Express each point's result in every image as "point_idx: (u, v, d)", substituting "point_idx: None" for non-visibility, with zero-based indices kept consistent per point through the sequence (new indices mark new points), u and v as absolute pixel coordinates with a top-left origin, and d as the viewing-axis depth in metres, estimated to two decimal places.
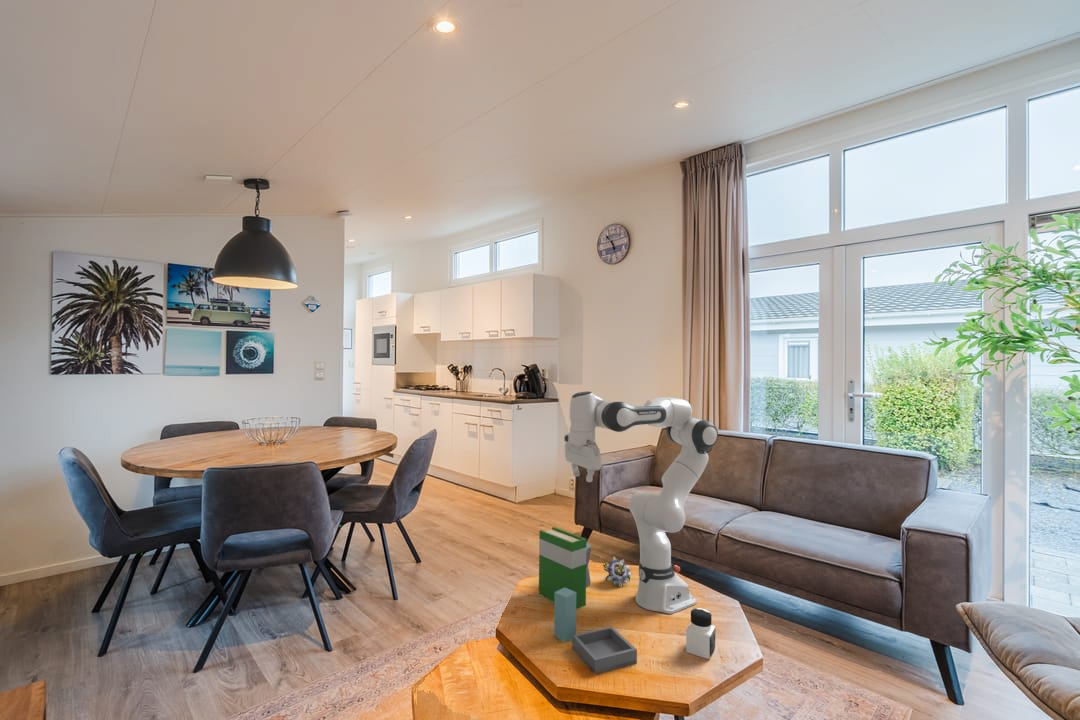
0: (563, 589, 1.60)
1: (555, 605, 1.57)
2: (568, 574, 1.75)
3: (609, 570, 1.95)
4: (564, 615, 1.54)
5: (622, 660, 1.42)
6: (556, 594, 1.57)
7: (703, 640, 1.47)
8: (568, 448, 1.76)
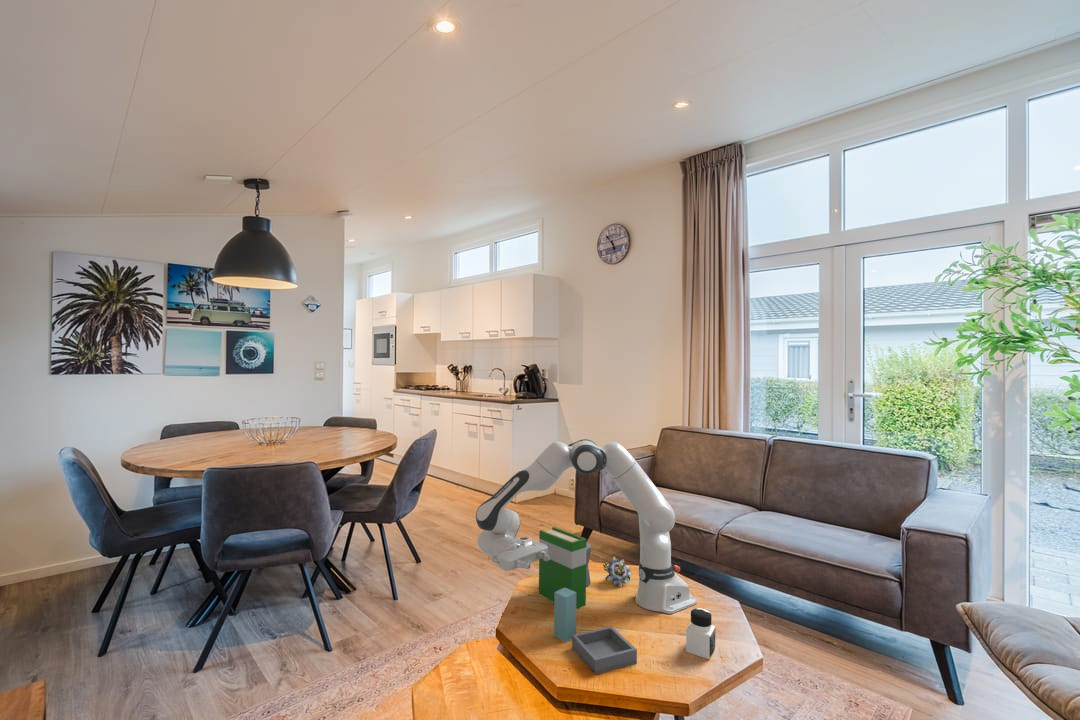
0: (563, 589, 1.60)
1: (555, 605, 1.57)
2: (568, 574, 1.75)
3: (609, 570, 1.95)
4: (564, 615, 1.54)
5: (622, 660, 1.42)
6: (556, 594, 1.57)
7: (703, 640, 1.47)
8: None
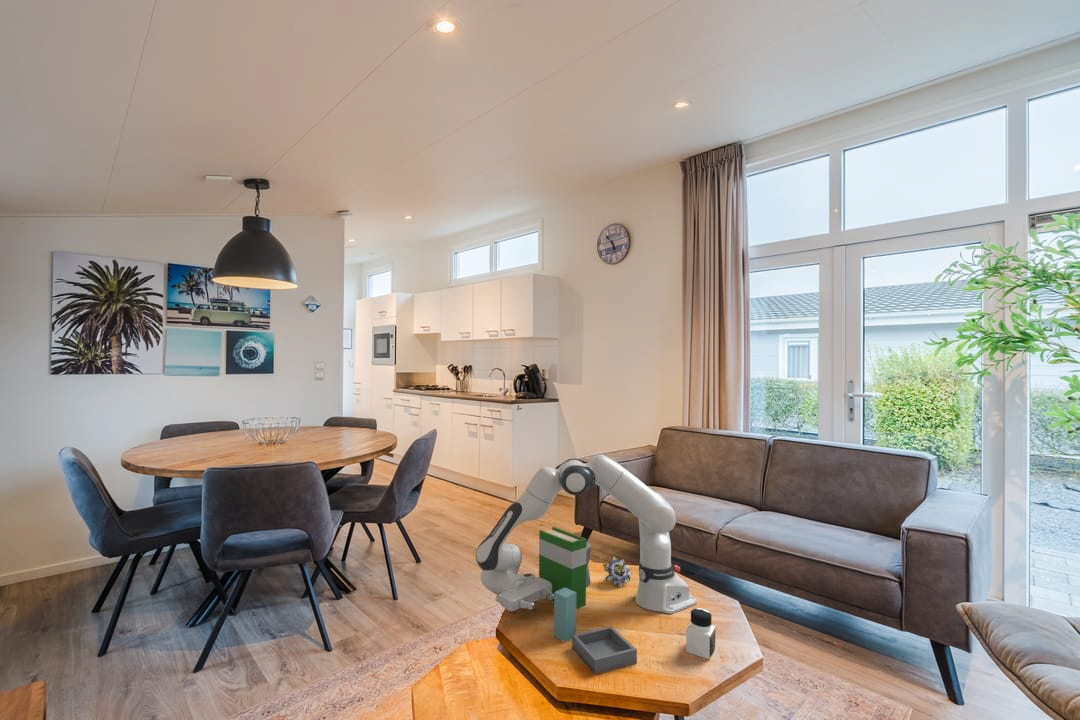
0: (563, 589, 1.60)
1: (555, 605, 1.57)
2: (568, 574, 1.75)
3: (609, 570, 1.95)
4: (564, 615, 1.54)
5: (622, 660, 1.42)
6: (556, 594, 1.57)
7: (703, 640, 1.47)
8: None
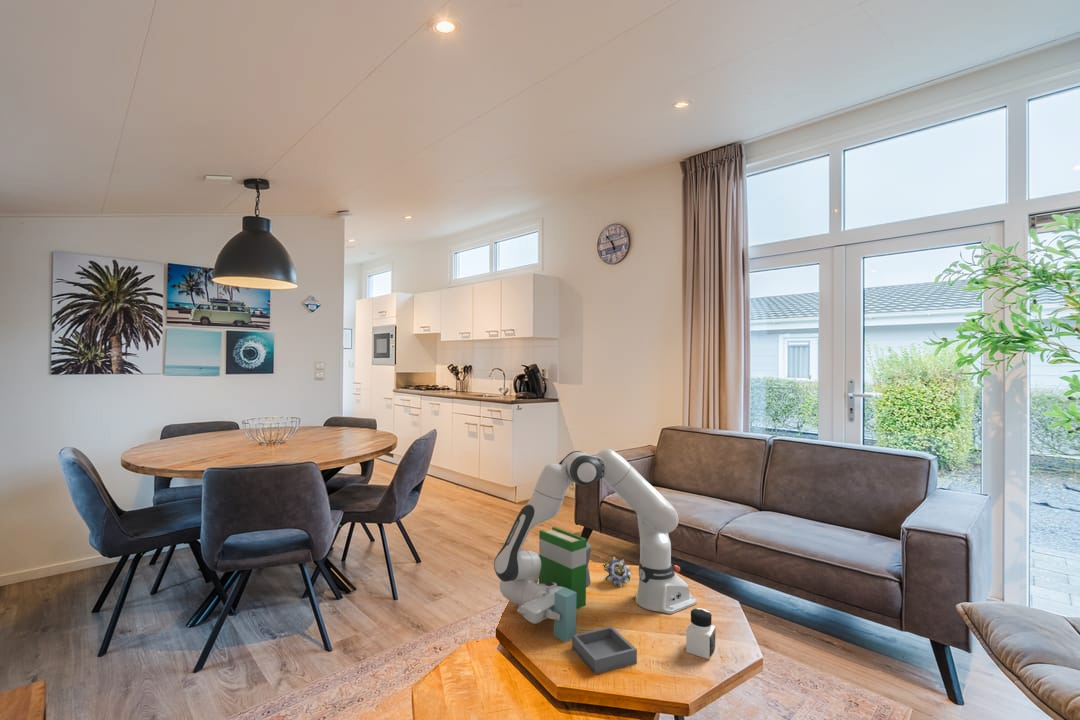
0: (563, 589, 1.60)
1: (555, 605, 1.57)
2: (568, 574, 1.75)
3: (609, 570, 1.95)
4: (564, 615, 1.54)
5: (622, 660, 1.42)
6: (556, 594, 1.57)
7: (703, 640, 1.47)
8: None
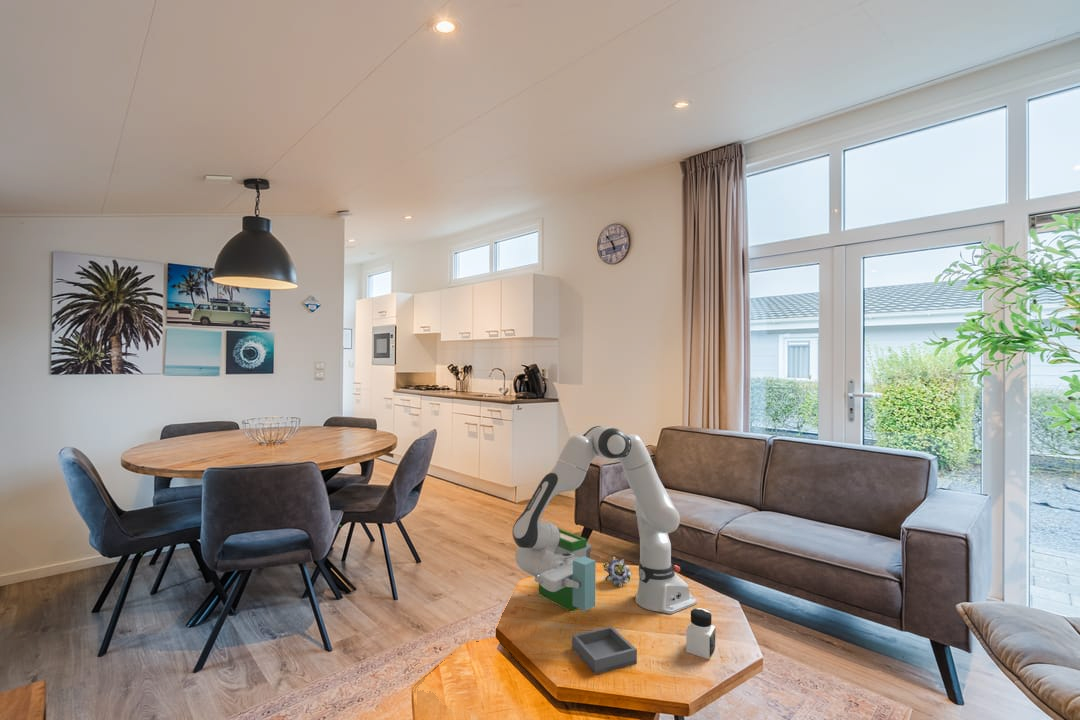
0: (581, 557, 1.55)
1: (573, 574, 1.53)
2: None
3: (609, 570, 1.95)
4: (583, 584, 1.50)
5: (622, 660, 1.42)
6: (574, 562, 1.52)
7: (703, 640, 1.47)
8: None
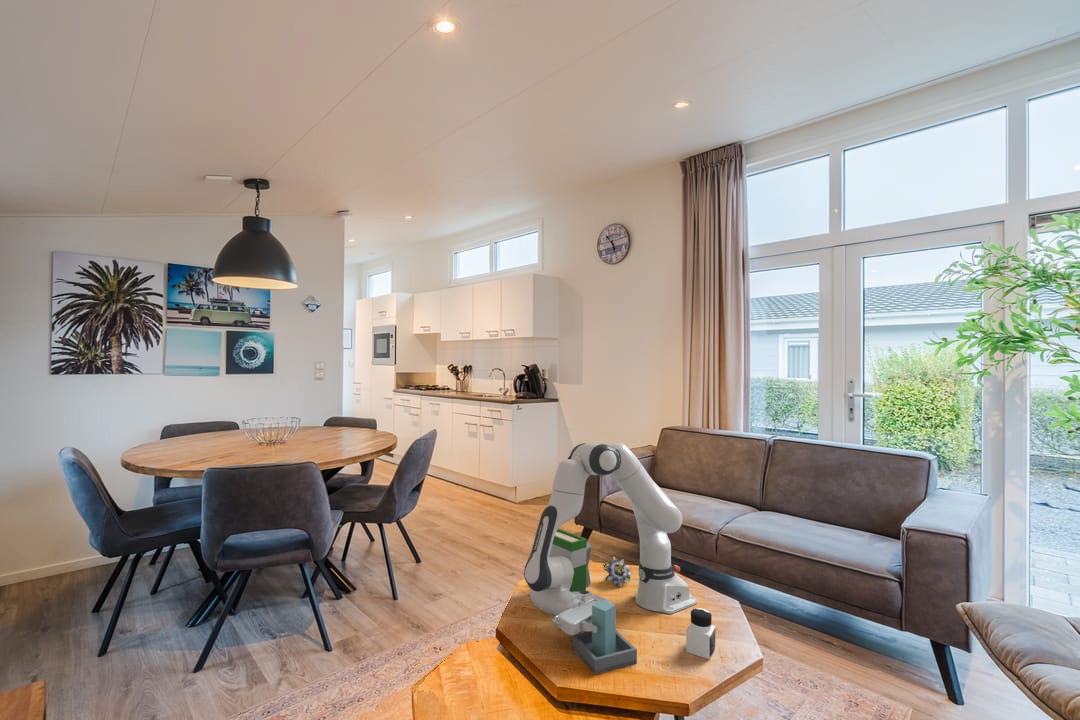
0: (601, 602, 1.49)
1: (593, 619, 1.47)
2: None
3: (609, 570, 1.95)
4: (604, 630, 1.44)
5: (622, 660, 1.42)
6: (594, 607, 1.47)
7: (703, 640, 1.47)
8: None
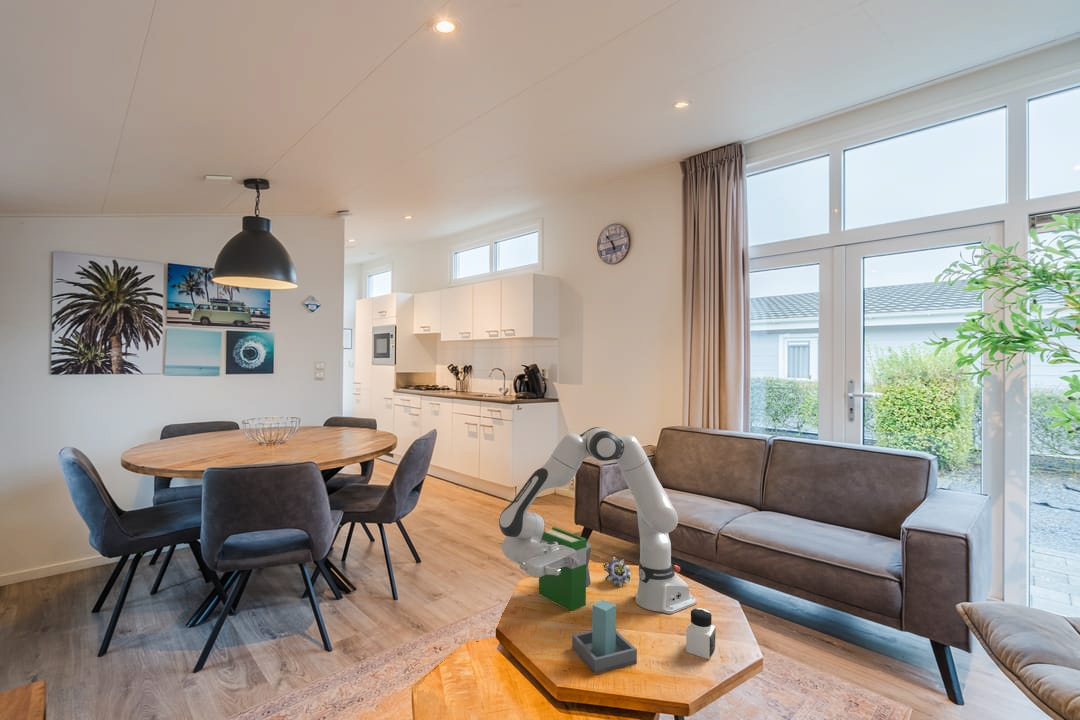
0: (601, 601, 1.49)
1: (593, 619, 1.47)
2: (568, 574, 1.75)
3: (609, 570, 1.95)
4: (604, 630, 1.44)
5: (622, 660, 1.42)
6: (594, 607, 1.47)
7: (703, 640, 1.47)
8: None
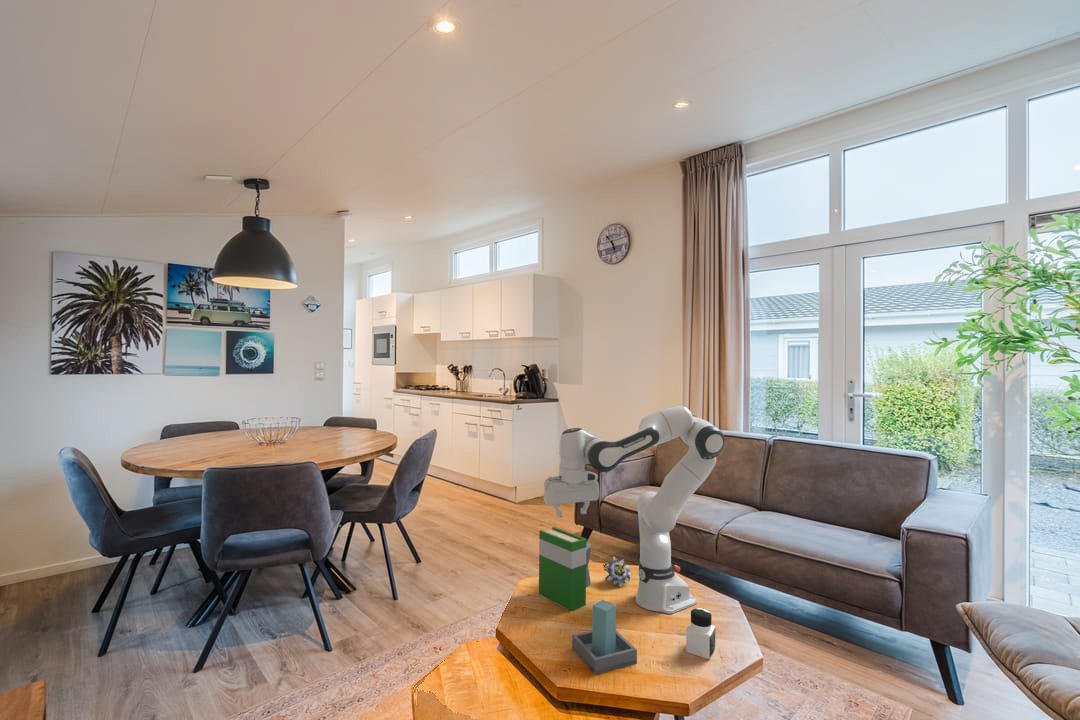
0: (601, 601, 1.49)
1: (593, 619, 1.47)
2: (568, 574, 1.75)
3: (609, 570, 1.95)
4: (604, 630, 1.44)
5: (622, 660, 1.42)
6: (594, 607, 1.47)
7: (703, 640, 1.47)
8: None
